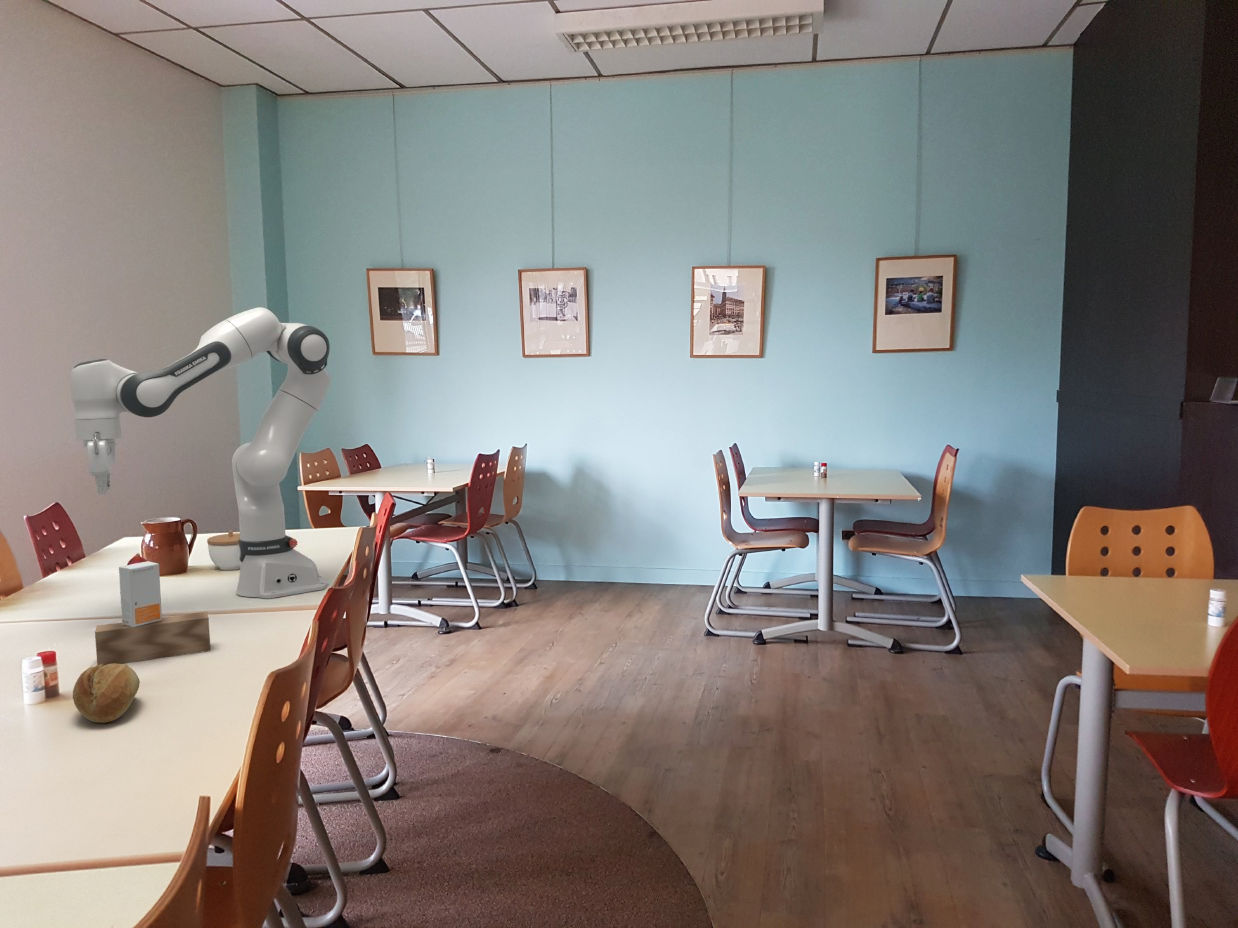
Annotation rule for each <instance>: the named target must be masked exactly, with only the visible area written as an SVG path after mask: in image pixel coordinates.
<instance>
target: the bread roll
mask: <svg viewBox="0 0 1238 928" xmlns="http://www.w3.org/2000/svg"><path fill="white" fill-rule="evenodd" d="M139 688H140V678H139V676H138V674H137V672H136V671H135V670H134V669H133V668H132V667H130V666H129V665H128V664H127V663H121V664H116V663H113V664H107V665H105V666H104V664H100V665H95V666H90V667H88V668H87V669H85V670H84V671H83V672H81V674H80V676H79V677H78V678H77V680H76V682H75V684H74V686H73V689H72V700H73V704H74V706H75V708H76V709H77V710H78V712H79V713H80V714H81V716H83V717H84V718H86V720H89V721H91V722H94V723H100V724H101V723H102V724H103V723H104V724H105V723H109V722H112V721H115V720H117V719H119V718H120V717H121V716H123V715H124V714H125V713H126V712H127V710H128V709H129V708H130V706H131V705H132V703H133V701H134V699H135V696H136V695H137V693H138V690H139Z"/></svg>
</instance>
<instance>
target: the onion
mask: <svg viewBox="0 0 1238 928" xmlns="http://www.w3.org/2000/svg"><path fill="white" fill-rule="evenodd" d="M147 561H148V560H147V559H146V558H144V557H142V556H141V553H139V552H138V553H136V554H135V555H134V556H133V557H131V558H130V559H129V560H128V562H127V564H126V566H127V565H131V564H135V563H142V562H147Z"/></svg>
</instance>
